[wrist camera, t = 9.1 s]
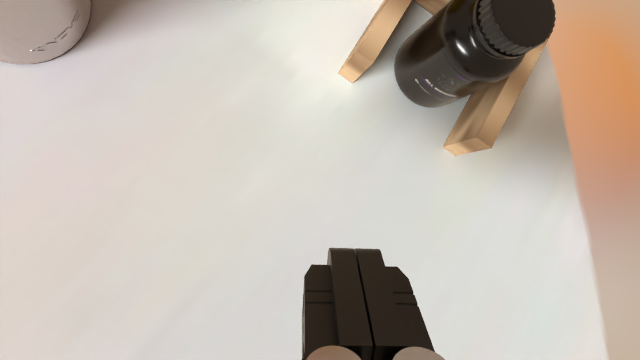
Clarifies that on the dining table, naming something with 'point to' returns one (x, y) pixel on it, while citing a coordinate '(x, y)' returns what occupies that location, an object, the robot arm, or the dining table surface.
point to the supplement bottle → (470, 47)
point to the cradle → (483, 105)
